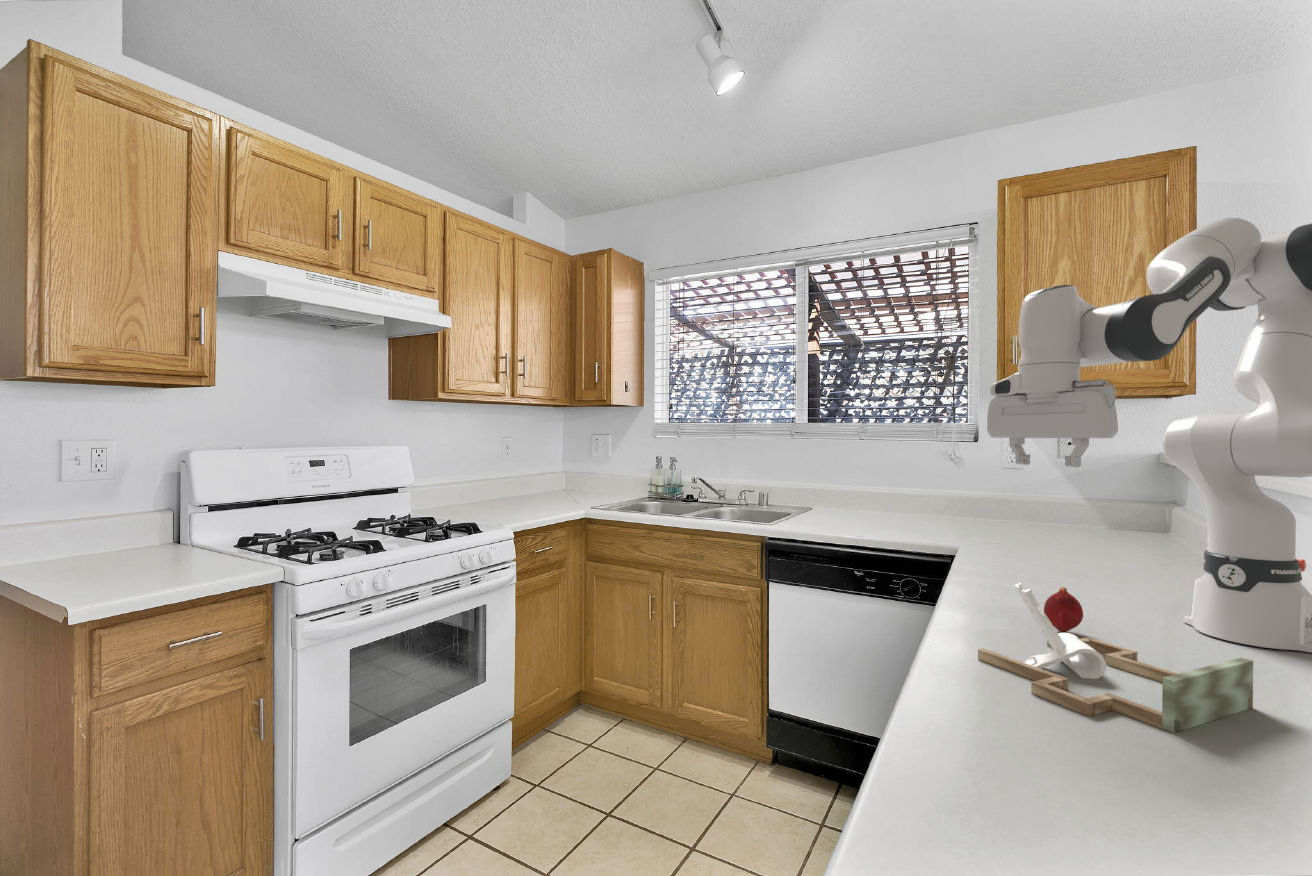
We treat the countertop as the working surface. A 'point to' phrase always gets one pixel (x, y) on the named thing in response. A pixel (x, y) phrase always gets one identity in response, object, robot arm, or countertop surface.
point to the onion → (1063, 610)
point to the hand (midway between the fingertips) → (1046, 465)
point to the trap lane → (1182, 694)
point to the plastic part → (1063, 645)
